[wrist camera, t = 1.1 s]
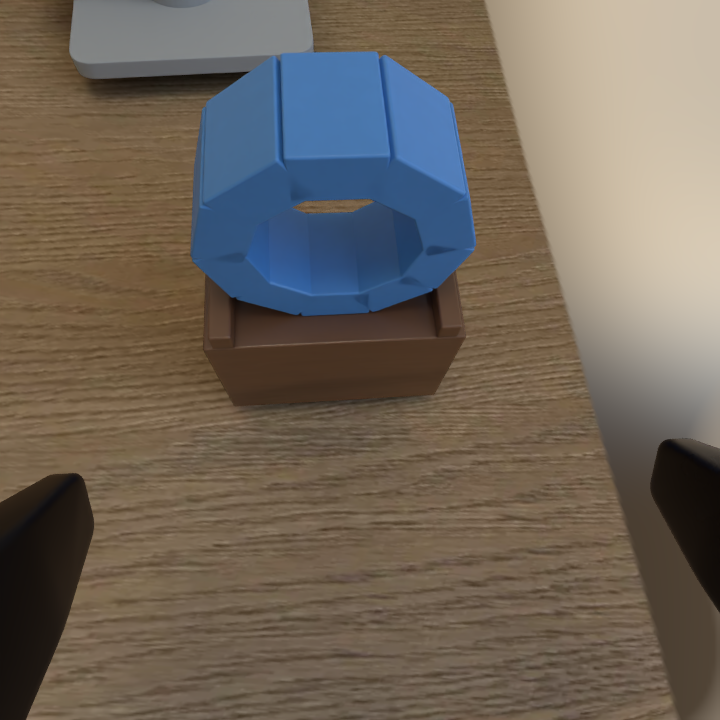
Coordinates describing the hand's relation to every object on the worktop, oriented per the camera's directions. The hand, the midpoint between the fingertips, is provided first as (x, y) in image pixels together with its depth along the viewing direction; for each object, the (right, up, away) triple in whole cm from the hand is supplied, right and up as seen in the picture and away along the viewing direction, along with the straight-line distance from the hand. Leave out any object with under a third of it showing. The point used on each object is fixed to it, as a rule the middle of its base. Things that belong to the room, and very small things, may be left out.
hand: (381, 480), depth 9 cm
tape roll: (-1, +5, +10) cm, 11 cm away
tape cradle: (-2, +3, +15) cm, 16 cm away
